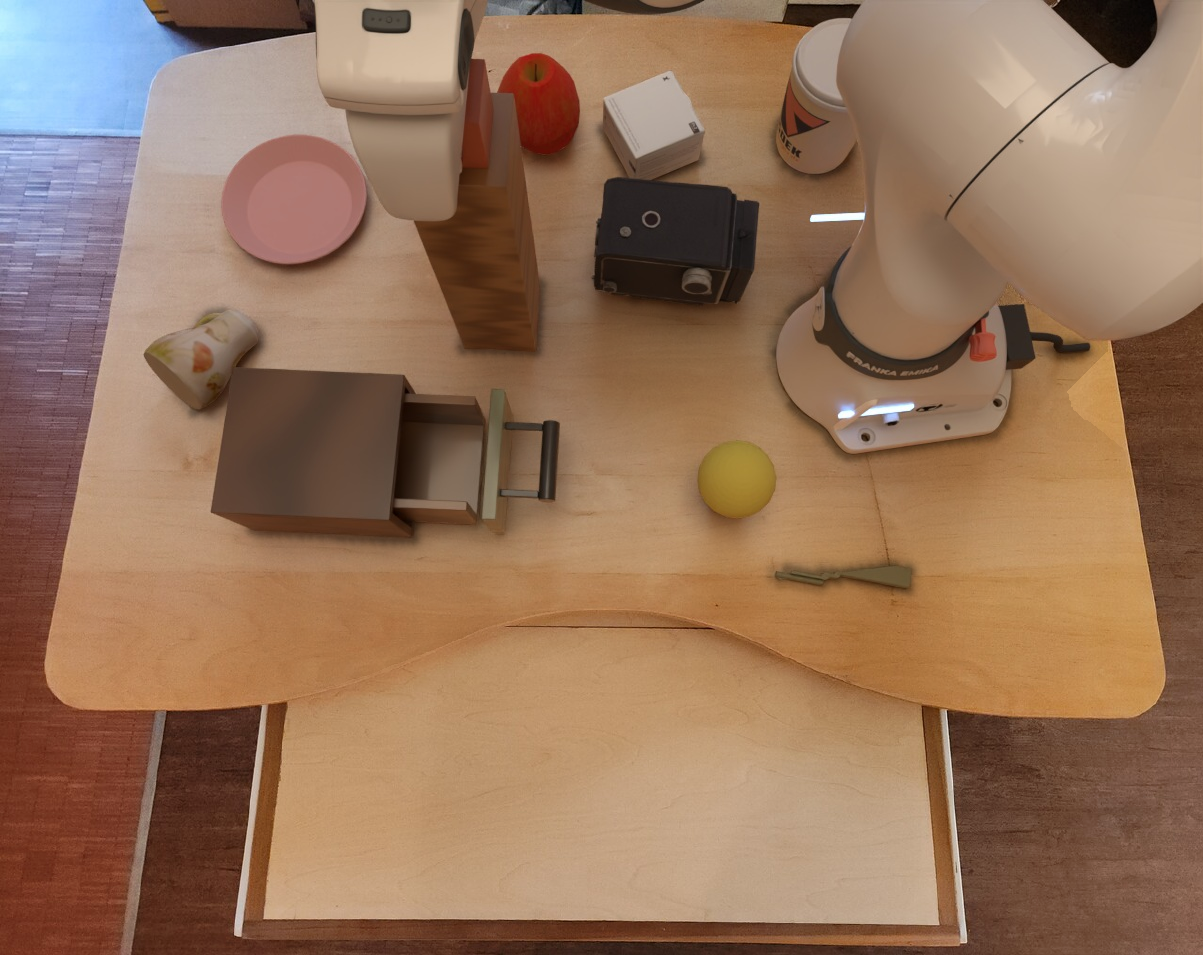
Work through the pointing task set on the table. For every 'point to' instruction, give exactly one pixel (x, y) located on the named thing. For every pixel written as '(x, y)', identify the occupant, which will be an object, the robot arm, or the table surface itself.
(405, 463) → the drawer
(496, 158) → the stand
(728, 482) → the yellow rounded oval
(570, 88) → the apple
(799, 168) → the coffee cup
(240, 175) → the plate
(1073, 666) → the table surface
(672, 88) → the small box
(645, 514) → the table surface
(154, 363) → the mug
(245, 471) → the cabinet
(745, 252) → the camera
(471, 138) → the block
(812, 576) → the toy shotgun
